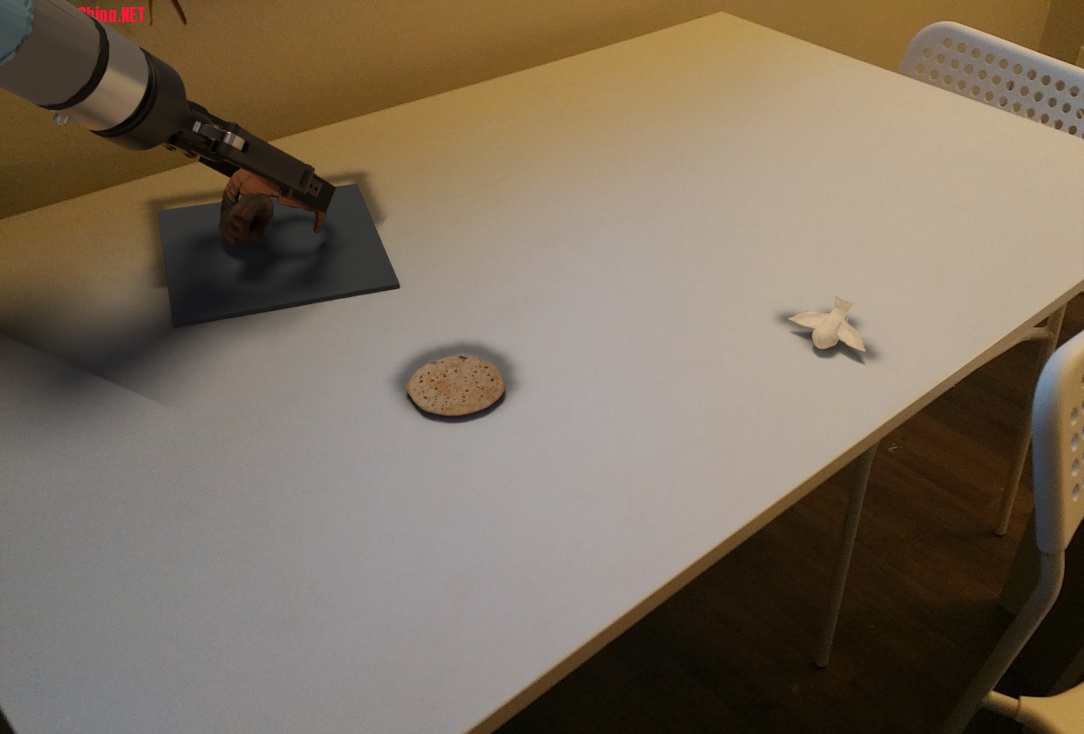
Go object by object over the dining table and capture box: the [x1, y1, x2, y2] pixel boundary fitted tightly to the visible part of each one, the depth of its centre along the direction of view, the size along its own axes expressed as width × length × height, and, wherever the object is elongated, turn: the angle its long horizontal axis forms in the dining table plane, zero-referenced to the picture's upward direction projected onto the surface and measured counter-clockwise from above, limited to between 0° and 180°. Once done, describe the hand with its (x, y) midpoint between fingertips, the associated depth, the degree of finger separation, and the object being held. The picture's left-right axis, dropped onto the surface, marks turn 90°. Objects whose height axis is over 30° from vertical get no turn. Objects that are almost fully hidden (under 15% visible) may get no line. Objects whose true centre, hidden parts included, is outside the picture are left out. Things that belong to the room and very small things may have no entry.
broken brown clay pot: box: [219, 168, 327, 245], centre depth 95 cm, size 12×10×8 cm
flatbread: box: [404, 354, 505, 417], centre depth 83 cm, size 8×8×1 cm
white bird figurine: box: [788, 295, 866, 353], centre depth 92 cm, size 8×5×5 cm, turn 57°
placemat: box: [157, 183, 401, 328], centre depth 97 cm, size 20×20×1 cm
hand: (288, 185), depth 96 cm, fingers closed on broken brown clay pot, 9 cm apart
